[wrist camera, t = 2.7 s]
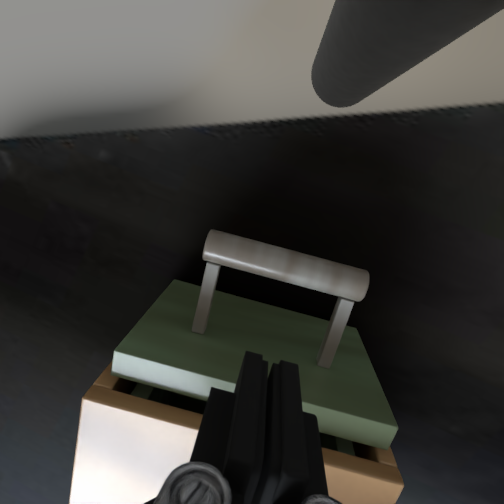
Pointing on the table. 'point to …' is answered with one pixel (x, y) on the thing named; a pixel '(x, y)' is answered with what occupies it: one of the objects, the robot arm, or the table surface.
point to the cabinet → (185, 451)
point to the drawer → (260, 342)
